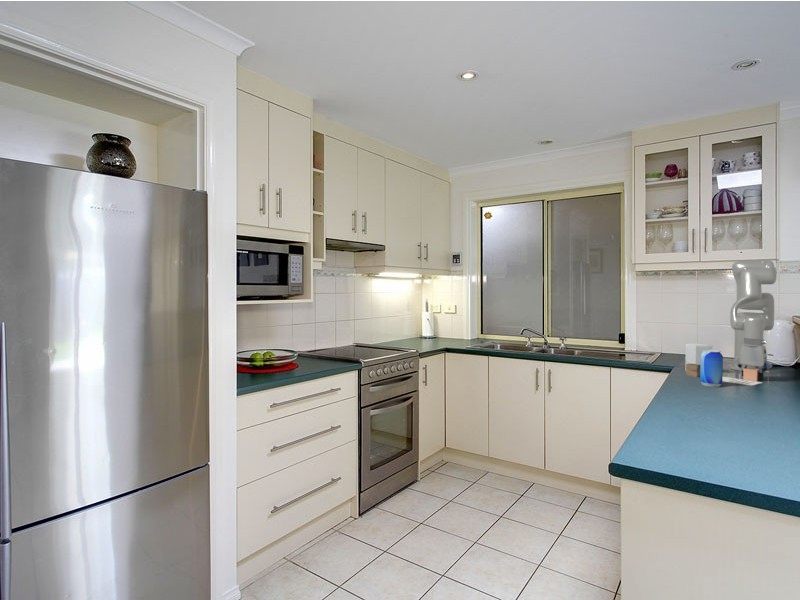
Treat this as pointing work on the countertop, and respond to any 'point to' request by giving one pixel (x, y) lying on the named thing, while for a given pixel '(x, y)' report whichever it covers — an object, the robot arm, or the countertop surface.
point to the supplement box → (695, 353)
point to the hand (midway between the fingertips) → (752, 379)
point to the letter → (740, 381)
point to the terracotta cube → (750, 374)
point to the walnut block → (693, 370)
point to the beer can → (711, 368)
